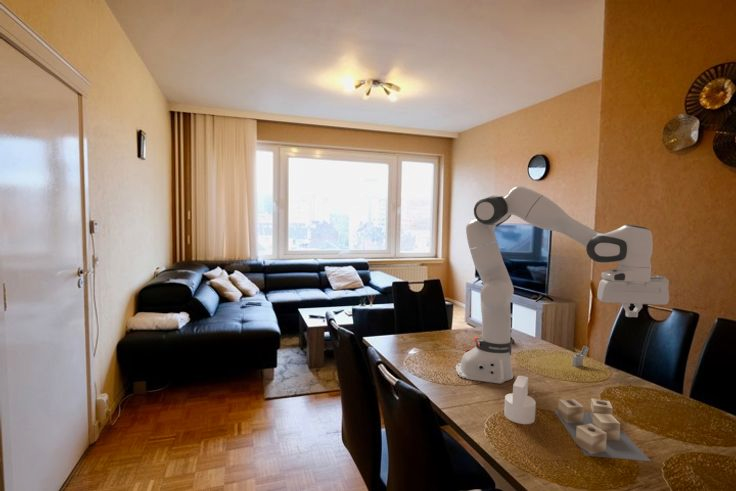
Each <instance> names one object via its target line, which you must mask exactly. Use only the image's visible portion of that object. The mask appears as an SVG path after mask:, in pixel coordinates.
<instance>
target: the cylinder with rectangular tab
mask: <svg viewBox="0 0 736 491" xmlns="http://www.w3.org/2000/svg"><path fill="white" fill-rule="evenodd" d="M528 389H529V377H528V376H525V375H518V376H517V378H515V381H514V382H513V385H512V393H508V394H505V396H504V410H503V411H504V412H503V414H504V416H505V417H506V419H507V420H508V421H511V422H513V423H517V424H520V425H531V424H533V423H534V422H535V420H536V404H537V403H536V402H537V401H536V400H535V399H534V398H533V397H531V396H529V394H528V391H529V390H528Z"/></svg>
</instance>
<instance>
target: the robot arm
mask: <svg viewBox="0 0 736 491" xmlns="http://www.w3.org/2000/svg"><path fill="white" fill-rule="evenodd" d="M473 215H474V217H475V218H474V219H472V220H470V221H469V222H468V223H467V225H466V226H465V230H466V238H467V239H466V240H467V244H468V248H469V251H470V254H471V259H472V262H473V265H474V267H475V270H476V272H477V273H478V275H479V277H480V280H481V282H482V285H483V286H482V287H481V289H480V309H481V311H480V312H481V337H479V336H474V337H473V341H474V342H475V347H473V348H471V349H470V350H468V351H466V352H465V353H464V354H463V355H462V357H461V362H459V363H457V364H456V365H455V368H456V370H455V373H456V372H457V373H456V375H457V374H458V375H459V376H458V375H457V376H458V377H460V378H461V377H462V378H461V379H464V378H466V380H472V381H479V382H485V383H486V382H487V383H492V384H493V383H494V384H500V385H501V384H503V383H504V382H507V381H510V380H512V379H513V378H514V374H513V373H514V372H513V369H512V362H511V361H512V360H511V355H512V351H513V350H512V344H511V341H510V337H512V335H511V334H512V331H511V330H512V318H511V317H512V316H511V302H512V301H511V299H512V297H513V296H514V292H515V289H514V285H513V281H512V280H511V277H510V274H509V272H508V269H507V267H506V265H505V263H504V259H503V256H502V254H501V249H500V247H499V243H498V240H497V236H496V234H495V229H496V227H498V226H501V224H503V223H504V222H506V221H508V220H509V219H510V217H511V216H516V217H518V218H520V219H522V220H523V221H525V222H526V223H528V224H529V225H531V226H533V227H536V228H539V229H540V230H541V229H542V230H546V231H552V232H557V233H560V234H563V235H565V236H566V237H569V238H570V239H572V240H573V241H575V242H577V243H579V244H581V245H582V246H584V247H585V249H586V254H587V256H588V258H590V259H591V260H592V261H593V262H596V263H599V264H607V263H614V262H617V263H618V264H617V267H615V268H613V269H609V270H605V271H602V272H601V274H600V275H601V276H600V277H601V278H602V279H601V280H600V281H599V284H598V286H597V287H598V288H597V294H596V296H597V297H596V298H597V299H598V300H599V301H600V302H602V303H610V304H611V303H612V304H621V306H622V308H623V309H624V311H625V313H624V314H625V316H624V317H627V318H638V316H639V312H640V311H641V310H642V309H643V305H658V306H659V305H662V306H664V305H665V306H666V305H667V304H669V302H670V293H669V285H670V280H669V279H668V277H665V276H664V275H652V263H651V258H652V255H653V248H654V246H653V243H654V242H653V234H652V231H651V230H650V229H649V228H647V227H644V226H640V225H635V224H624V225H622V226H621V227H619V228H616V229H614V230H611V231H609V232H600V231H596V230H594V229H593V228H590V227H589V226H587V225H585V224H583V223H581V222H579V221H578V220H576V219H574V218H573V217H571V215H569V214H568V213H567V212H566V211H565V210H564V209H562V208H561V207H560V206H559V205H558V204H557V203H556V202H554V201H553V200H552V199H550V198H549V197H547V196H546V195H543V194H542V193H540V192H538V191H535V190H533V189H530V188H527V187H525V186H522V185H521V186H520V185H517V186H514V187H513V188H511V189H510V190H509V191H508V192H507V194H506V195H505V196H502V195H490V196H484V197H482V198H481V199H479V200H478V201H477V202H476V203H475V204H474V208H473ZM631 304H633V306H635V307H634V308H633V310H630V307H631Z"/></svg>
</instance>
